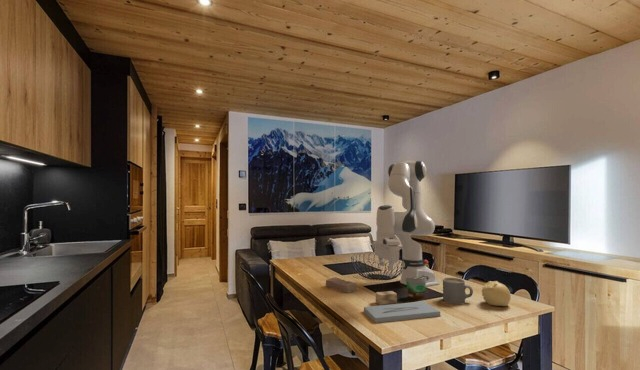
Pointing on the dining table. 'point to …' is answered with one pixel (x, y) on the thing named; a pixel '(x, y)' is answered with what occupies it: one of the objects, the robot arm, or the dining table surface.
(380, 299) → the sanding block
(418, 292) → the food container
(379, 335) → the dining table surface
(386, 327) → the dining table surface
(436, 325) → the dining table surface
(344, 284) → the brick
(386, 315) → the board
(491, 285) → the pale yellow rounded lump
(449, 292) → the coffee mug
